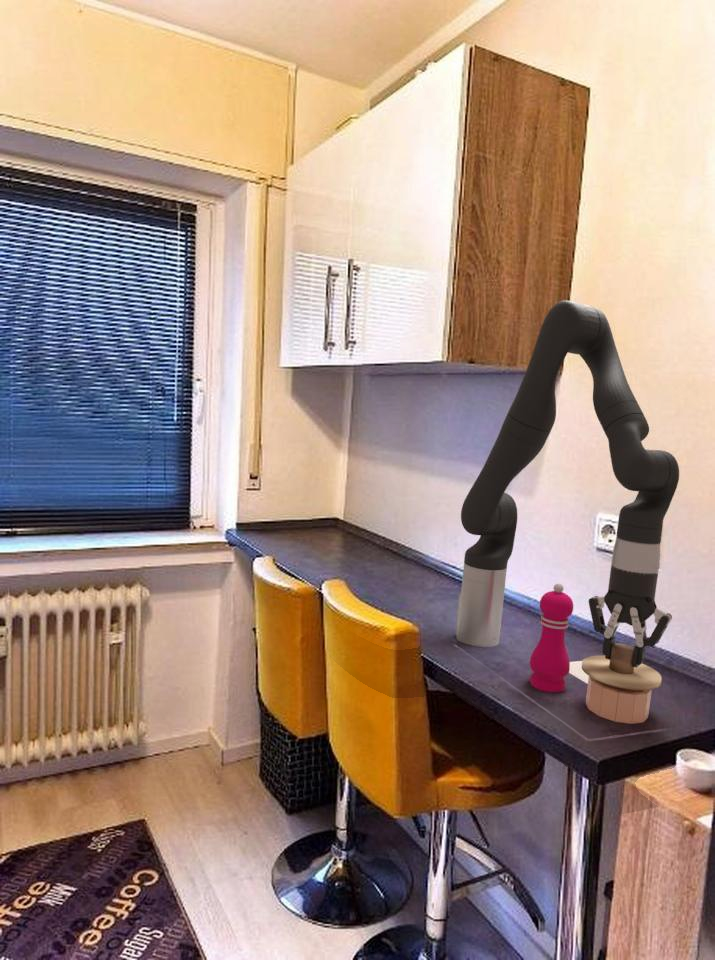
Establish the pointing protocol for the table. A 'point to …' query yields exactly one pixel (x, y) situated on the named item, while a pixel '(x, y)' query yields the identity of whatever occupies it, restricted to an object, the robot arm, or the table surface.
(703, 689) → the table surface
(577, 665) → the mat
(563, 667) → the pepper mill
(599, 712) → the bowl
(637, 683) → the lid
